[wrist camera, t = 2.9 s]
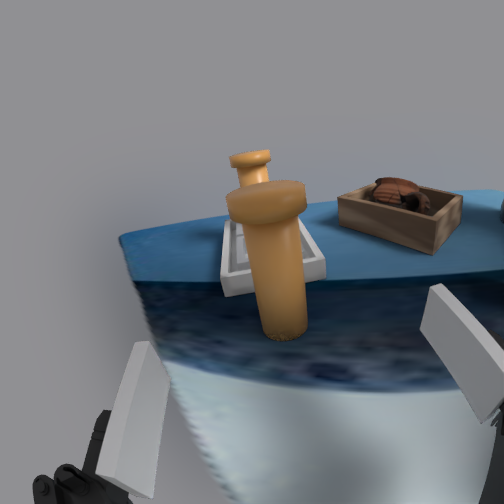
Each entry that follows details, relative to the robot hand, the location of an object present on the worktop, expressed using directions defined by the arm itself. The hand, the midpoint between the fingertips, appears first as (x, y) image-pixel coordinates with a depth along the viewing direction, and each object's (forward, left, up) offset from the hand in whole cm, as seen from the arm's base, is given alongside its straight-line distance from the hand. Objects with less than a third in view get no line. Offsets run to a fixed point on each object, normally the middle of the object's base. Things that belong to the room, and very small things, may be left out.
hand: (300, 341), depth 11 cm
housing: (-12, -21, -8) cm, 26 cm away
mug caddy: (-32, -11, -8) cm, 35 cm away
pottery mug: (-31, -12, -8) cm, 34 cm away
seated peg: (-14, -25, -7) cm, 30 cm away
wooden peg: (-5, -8, -8) cm, 12 cm away
